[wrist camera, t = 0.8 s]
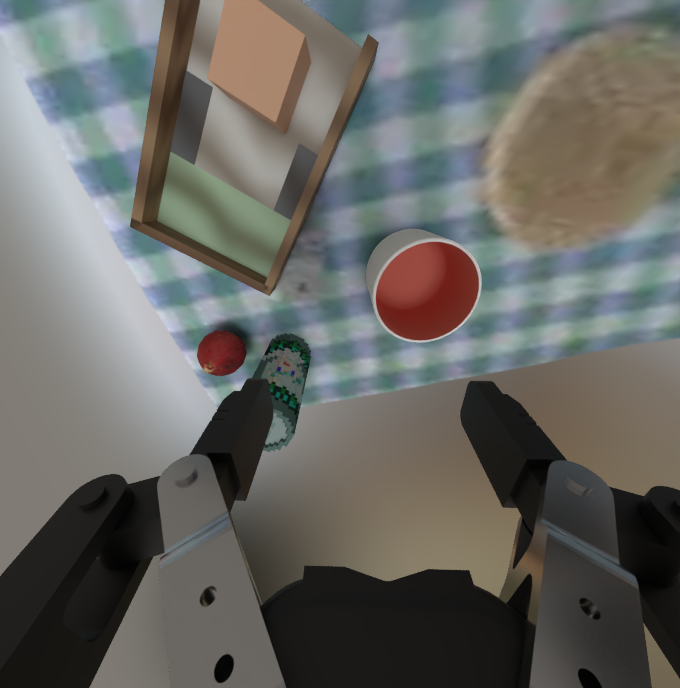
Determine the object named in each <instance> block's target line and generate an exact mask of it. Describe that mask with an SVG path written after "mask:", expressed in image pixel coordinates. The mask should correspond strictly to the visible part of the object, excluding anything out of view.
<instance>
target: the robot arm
mask: <svg viewBox="0 0 680 688" xmlns="http://www.w3.org/2000/svg"><path fill="white" fill-rule="evenodd" d="M460 415H461V422H462V426H463V428H464V430H465V432H466V434H467V436H468V438H469V440H470V442H471V444H472V446H473V448H474V450H475V452H476V454H477V456H478V458H479V460H480V462H481V464H482V466H483V468H484V470H485V472H486V474H487V476H488V478H489V480H490V482H491V484H492V486H493V488H494V490H495V492H496V495H497V497H498V499H499V500H500V502H501V505H502V507H506V508H508V507H509V508H518V510H519V512H520V514H521V517H520V518H519V521H518V525H517V530H516V535H515V540H514V544H513V550H512V554H511V559H510V564H509V568H508V573H507V576H506V580H505V583H504V585H503V587H502V590H501V593H500V596H499V598H498V597H496V596H495V595H493V594H492V593H490V592H488V591H486V590H484V589H482V588H480V587H478V586H475V585H474V584H473V581H472V578H471V574H470V571H469V570H434V569H428V570H425V571H421V572H418V573H415V574H412V575H409V576H406V577H402V578H399V579H396V580H393V581H383V580H380V579H377V578H374V577H372V576H369V575H366V574H363V573H360V572H357V571H355V570H352V569H349V568H346V567H333V566H305V567H304V575H303V579H301V580H298V581H295V582H293V583H291V584H289V585H287V586H285V587H284V588H282V589H281V590H279V591H277V592H276V593H275V594H274V595H272V596H271V597H270V598H269V599H268V600H267V601H266V602H265V603H264V604H263V605H262V603H261V600H260V598H259V595H258V592H257V589H256V586H255V583H254V580H253V578H252V575H251V572H250V569H249V566H248V564H247V561H246V558H245V555H244V552H243V549H242V546H241V543H240V540H239V537H238V535H237V532H236V529H235V526H234V523H233V520H232V517H231V514H230V511H231V509H232V506H233V504H234V501H235V500H240V501H241V500H243V501H246V498H247V495H248V493H249V490H250V487H251V484H252V481H253V477H254V475H255V472H256V469H257V466H258V463H259V460H260V457H261V454H262V451H263V448H264V445H265V442H266V439H267V436H268V433H269V430H270V427H271V424H272V421H273V403H272V398H271V392H270V386H269V381H268V379H254V378H249V379H247V380H246V382H245V384H244V385H243V387H242V389H241V391H233V392H232V393H231V394H230V395H228V396H227V397H226V398H225V399H224V400H223V401H222V403H221V404H220V406H219V408H218V409H217V412H216V413H215V414H214V416H213V417H212V421H210V422H209V424H208V426H207V427H206V429H205V431H204V432H203V434H202V435H201V437H200V439H199V440H198V442H197V444H196V445H195V447H194V449H193V450H192V452H191V453H190V455H189V456H185V457H183V458H181V459H179V460H177V461H175V462H174V463H172V464H171V465H170V466H169V467H168V468H167V469H166V470H165V471H164V472H163V473H162V475H161V476H158V477H154V478H150V479H147V480H143V481H139V482H136V483H132V484H127V482H126V481H125V479H124V478H123V477H122V476H120V475H117V474H110V475H105V476H101V477H98V478H96V479H94V480H92V481H90V482H88V483H86V484H85V485H83V486H81V487H80V488H79V489H78V490H76V491H75V492H74V493H73V494H72V495H70V496H69V498H68V499H67V500H66V501H65V502H64V503H63V504H62V506H61V507H60V508H59V509H58V510H57V511H56V512H55V514H54V515H53V516H52V517H51V518H50V519H49V521H48V522H47V523H46V524H45V525H44V526H43V527H42V529H41V530H40V531H39V532H38V533H37V534H36V536H35V537H34V538H33V539H32V540H31V541H30V543H29V544H28V545H27V546H26V547H25V548H24V549H23V550H22V552H21V553H20V554H19V555H18V556H17V557H16V559H15V560H14V561H13V562H12V563H11V564H10V565H9V567H8V568H7V569H6V570H5V571H4V572H3V574H2V575H1V576H0V688H89V687H90V685H91V683H92V681H93V679H94V677H95V675H96V673H97V671H98V669H99V667H100V665H101V663H102V660H103V658H104V656H105V654H106V652H107V650H108V648H109V646H110V644H111V642H112V640H113V638H114V636H115V634H116V632H117V630H118V628H119V626H120V624H121V622H122V620H123V618H124V616H125V613H126V611H127V609H128V607H129V605H130V603H131V601H132V599H133V597H134V595H135V593H136V591H137V589H138V587H139V585H140V583H141V581H142V578H143V577H144V575H145V573H146V570H147V569H148V566H149V564H150V562H151V560H152V558H153V556H156V555H159V554H162V553H165V554H164V556H163V557H161V558H160V561H159V575H160V585H161V596H162V605H163V615H164V626H165V636H166V646H167V655H168V665H169V676H170V686H171V688H652V687H651V678H650V671H649V663H648V656H647V648H646V640H645V633H644V625H643V623H644V624H645V626H646V627H647V629H648V630H649V632H650V633H651V635H652V637H653V638H654V640H655V641H656V643H657V644H658V646H659V647H660V649H661V650H662V652H663V654H664V655H665V657H666V658H667V660H668V661H669V663H670V664H671V666H672V667H673V669H674V671H675V672H676V673H677V675H678V676H679V678H680V490H677V489H674V488H670V487H664V486H655V487H653V488H651V489H650V490H649V491H648V492H647V494H646V495H645V496H641V495H637V494H633V493H630V492H626V491H623V490H619V489H615V488H612V487H609V486H608V485H607V484H606V483H605V482H604V481H603V480H602V479H601V478H600V477H599V476H598V475H596V474H595V473H594V472H592V471H591V470H589V469H587V468H586V467H584V466H581V465H579V464H577V463H574V462H570V461H567V460H566V459H565V457H564V456H563V455H562V454H561V453H560V451H559V450H558V449H557V448H556V447H555V445H554V444H553V443H552V442H551V440H550V439H549V438H548V437H547V436H546V434H545V433H544V432H543V431H542V429H541V428H540V427H539V426H537V425H536V422H535V421H534V420H533V419H532V417H530V416H529V414H528V412H527V411H526V410H525V409H524V408H523V407H522V405H521V404H520V403H519V402H517V401H516V400H514V399H513V398H512V397H510V396H509V395H507V394H502V392H501V391H500V390H499V388H498V387H497V386H496V385H495V383H494V382H492V381H470V382H469V384H468V386H467V390H466V393H465V397H464V401H463V405H462V408H461V414H460Z"/></svg>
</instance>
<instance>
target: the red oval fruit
mask: <svg viewBox="0 0 680 688" xmlns="http://www.w3.org/2000/svg"><path fill="white" fill-rule="evenodd" d="M246 353H247V352H246V348H245V344H244V343H243V342H242V340H241V339H240V338H239V337H238V336H236V335H235V334H234V333H231V332H228V331H215V332H212V333H210V334H208V335H206V336H205V337H204V338H203V340H202V341H201V342H200V344H199V346H198V352H197V358H198V361H199V363H200V365H201V367H202V368H203V370H204V371H205V372H206V373H207V372H208V373H209V374H212V375H216V376H224V375H228V374H231V373H234V372H235V371H236V370H237V369H238V368H239V367H240V366H241V365H243V363H244V360H245V357H246Z"/></svg>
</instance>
